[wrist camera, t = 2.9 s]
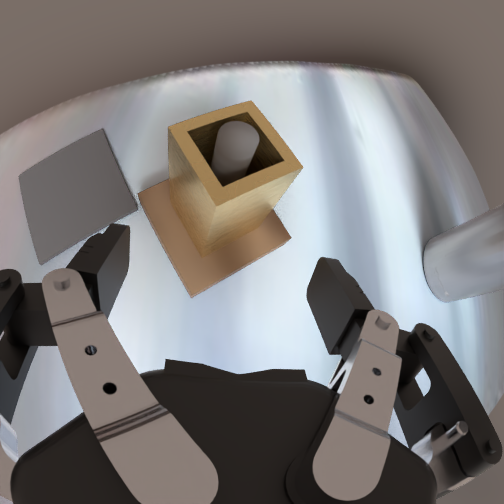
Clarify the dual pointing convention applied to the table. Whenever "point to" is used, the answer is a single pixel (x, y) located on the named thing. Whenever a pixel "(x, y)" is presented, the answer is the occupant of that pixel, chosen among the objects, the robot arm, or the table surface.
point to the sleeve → (232, 195)
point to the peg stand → (233, 254)
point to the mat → (73, 195)
